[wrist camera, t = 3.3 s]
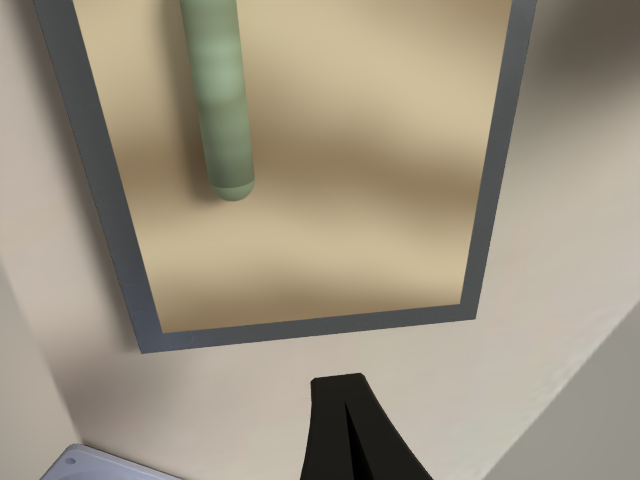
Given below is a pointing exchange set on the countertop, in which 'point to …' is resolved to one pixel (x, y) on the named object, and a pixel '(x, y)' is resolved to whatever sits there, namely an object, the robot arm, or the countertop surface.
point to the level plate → (297, 149)
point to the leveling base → (126, 255)
